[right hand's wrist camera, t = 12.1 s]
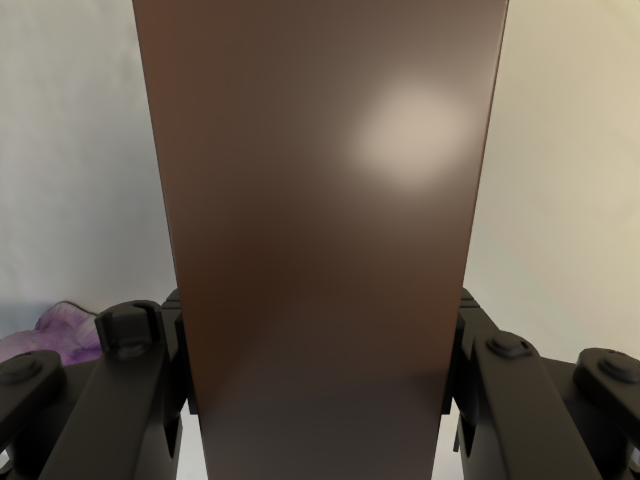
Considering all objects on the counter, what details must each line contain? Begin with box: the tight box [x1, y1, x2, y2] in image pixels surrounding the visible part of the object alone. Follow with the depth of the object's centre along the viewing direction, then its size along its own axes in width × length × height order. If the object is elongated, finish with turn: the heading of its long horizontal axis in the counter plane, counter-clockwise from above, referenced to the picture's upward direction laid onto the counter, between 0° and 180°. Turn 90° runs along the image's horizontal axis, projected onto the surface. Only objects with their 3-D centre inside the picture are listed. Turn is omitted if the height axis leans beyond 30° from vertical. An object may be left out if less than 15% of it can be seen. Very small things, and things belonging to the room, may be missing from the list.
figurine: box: [0, 303, 102, 366], centre depth 24 cm, size 9×10×15 cm
